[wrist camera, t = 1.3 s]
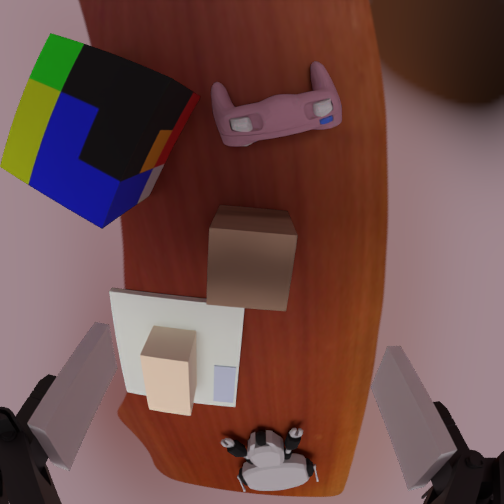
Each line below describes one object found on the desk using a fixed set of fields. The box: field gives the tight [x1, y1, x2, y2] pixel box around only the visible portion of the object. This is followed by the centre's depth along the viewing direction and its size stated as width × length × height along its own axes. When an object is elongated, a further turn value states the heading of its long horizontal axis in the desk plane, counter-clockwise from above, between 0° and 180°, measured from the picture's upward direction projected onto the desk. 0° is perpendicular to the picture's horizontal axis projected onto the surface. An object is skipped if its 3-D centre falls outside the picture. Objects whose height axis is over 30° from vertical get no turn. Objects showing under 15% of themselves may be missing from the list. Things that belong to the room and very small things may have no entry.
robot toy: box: [221, 428, 318, 492], centre depth 40 cm, size 12×4×15 cm
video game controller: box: [211, 61, 342, 147], centre depth 22 cm, size 10×5×7 cm, turn 104°
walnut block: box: [206, 205, 298, 311], centre depth 26 cm, size 6×6×7 cm
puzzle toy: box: [0, 34, 200, 228], centre depth 21 cm, size 10×10×10 cm
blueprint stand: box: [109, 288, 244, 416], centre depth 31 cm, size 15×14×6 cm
